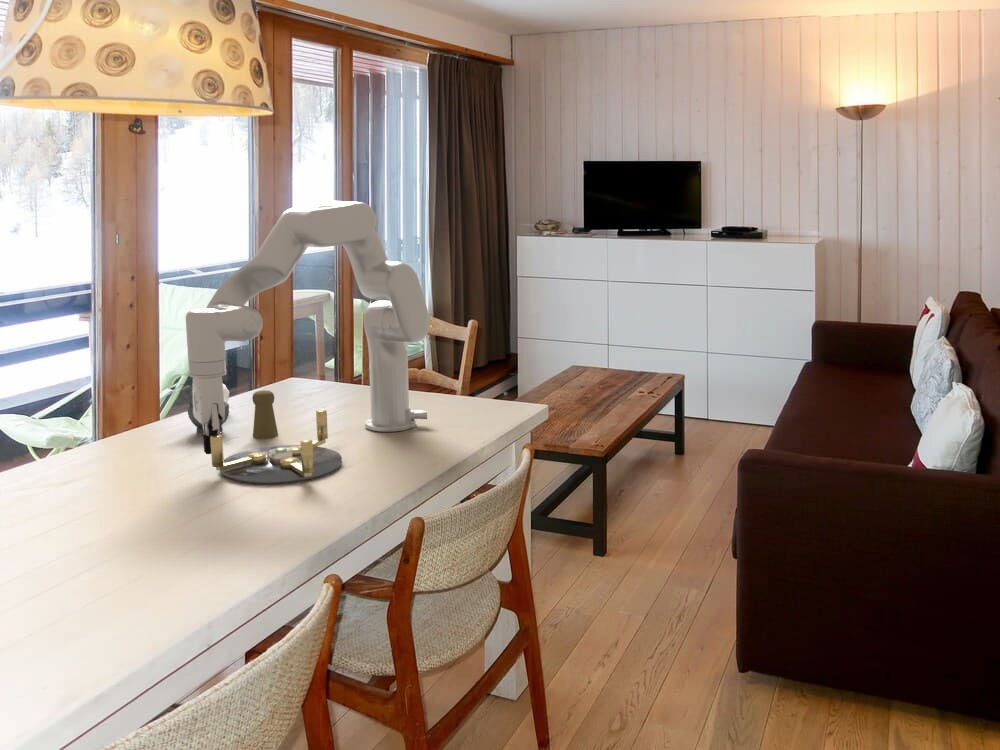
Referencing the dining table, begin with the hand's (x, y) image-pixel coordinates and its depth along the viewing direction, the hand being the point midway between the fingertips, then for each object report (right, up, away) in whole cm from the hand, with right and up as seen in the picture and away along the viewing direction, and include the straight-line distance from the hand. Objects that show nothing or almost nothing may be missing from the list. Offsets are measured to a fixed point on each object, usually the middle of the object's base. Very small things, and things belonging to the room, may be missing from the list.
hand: (212, 452), depth 217 cm
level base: (+14, -3, +5) cm, 15 cm away
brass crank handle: (+19, -4, -3) cm, 19 cm away
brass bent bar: (+18, 0, +13) cm, 22 cm away
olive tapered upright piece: (+4, +2, +31) cm, 32 cm away
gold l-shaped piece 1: (+6, -3, +1) cm, 6 cm away
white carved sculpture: (-13, +5, +50) cm, 52 cm away
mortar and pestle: (-11, +2, +34) cm, 36 cm away
